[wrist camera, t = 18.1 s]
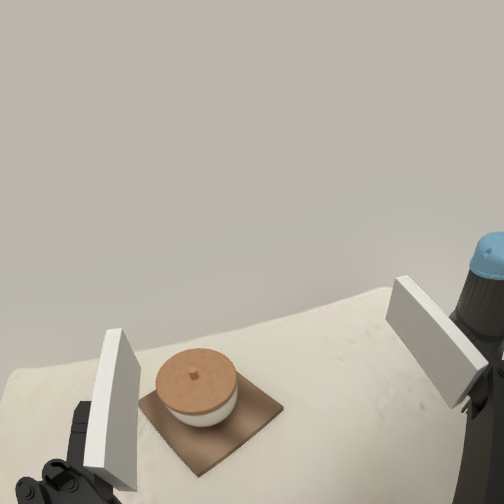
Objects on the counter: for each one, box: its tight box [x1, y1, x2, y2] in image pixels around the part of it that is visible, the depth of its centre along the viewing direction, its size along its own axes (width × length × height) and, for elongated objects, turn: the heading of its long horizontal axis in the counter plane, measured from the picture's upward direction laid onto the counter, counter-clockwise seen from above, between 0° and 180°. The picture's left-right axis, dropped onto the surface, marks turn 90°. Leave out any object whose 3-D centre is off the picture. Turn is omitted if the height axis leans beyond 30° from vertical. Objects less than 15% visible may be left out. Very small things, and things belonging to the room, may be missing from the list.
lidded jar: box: [156, 348, 238, 427], centre depth 37 cm, size 11×11×9 cm
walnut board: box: [138, 371, 283, 477], centre depth 40 cm, size 16×16×1 cm
